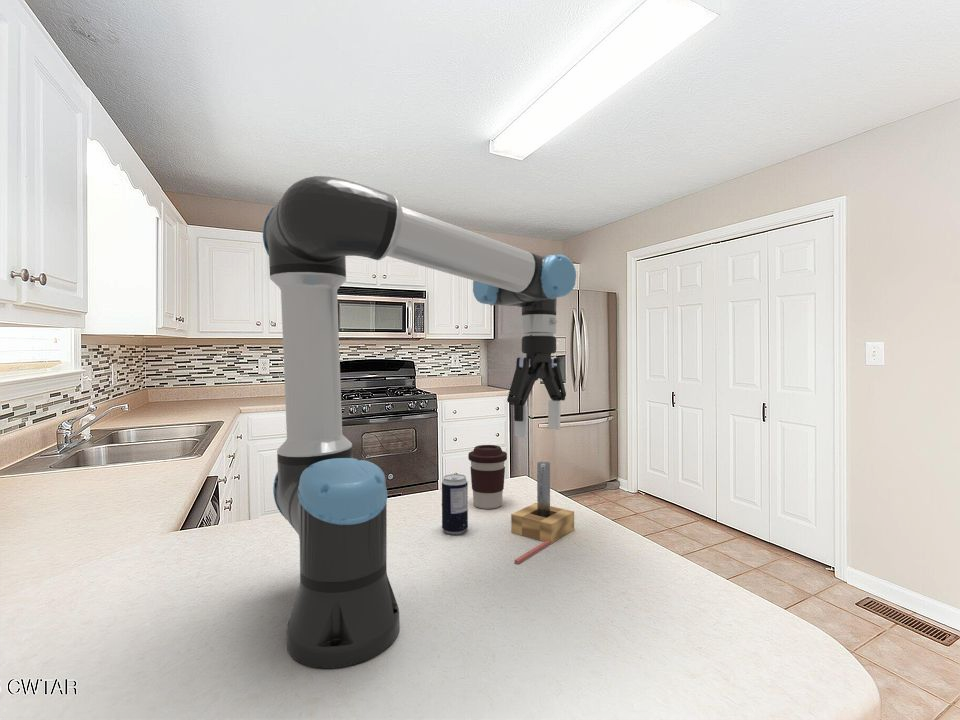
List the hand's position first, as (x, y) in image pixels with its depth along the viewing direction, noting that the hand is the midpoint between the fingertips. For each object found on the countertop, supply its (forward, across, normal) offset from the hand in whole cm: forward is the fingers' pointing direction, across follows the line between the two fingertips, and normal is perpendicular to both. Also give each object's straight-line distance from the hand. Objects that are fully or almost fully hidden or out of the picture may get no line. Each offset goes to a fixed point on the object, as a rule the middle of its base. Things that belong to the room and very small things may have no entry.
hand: (538, 432), depth 103 cm
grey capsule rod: (+22, +1, -1) cm, 22 cm away
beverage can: (+22, -11, +15) cm, 29 cm away
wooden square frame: (+22, +1, -1) cm, 22 cm away
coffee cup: (+22, +8, +20) cm, 31 cm away
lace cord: (+22, -10, -5) cm, 24 cm away
